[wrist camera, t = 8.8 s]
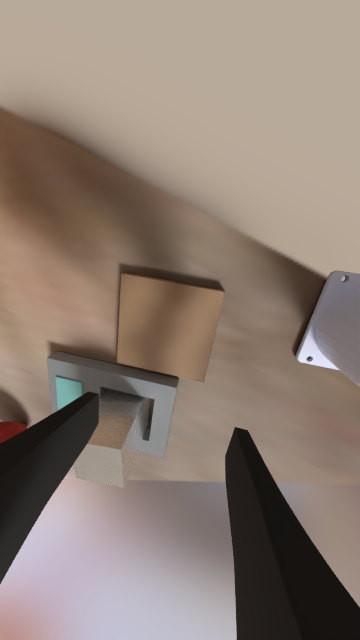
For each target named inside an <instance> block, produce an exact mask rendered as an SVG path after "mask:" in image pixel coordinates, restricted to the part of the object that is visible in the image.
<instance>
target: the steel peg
mask: <svg viewBox="0 0 360 640" xmlns="http://www.w3.org/2000/svg"><path fill="white" fill-rule="evenodd" d="M148 423H149V398H147V397H142V396H138V395H134V394H130V393H126V392H122V391H118V390H113V389H108V390H107V392H106V393H105V394H104V395H103V397H102V398H101V399H100V401H99V423H98V425H97V427H96V429H95V431H94V433H93V435H92V436H91V438H90V440H89V442H88V443H87V445H86V446H85V448H84V449H83V451H82V452H81V454H80V455H79V457H78V458H77V460H76V461H75V463H74V469H75V474H76V478H80V479H84V480H89V481H94V482H99V483H104V484H108V485H113V486H118V487H123V488H124V486H125V484H126V481H127V479H128V476H129V473H130V471H131V468H132V465H133V463H134V460H135V457H136V455H137V452H138V449H139V447H140V444H141V441H142V439H143V436H144V433H145V431H146V428H147V425H148Z"/></svg>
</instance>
